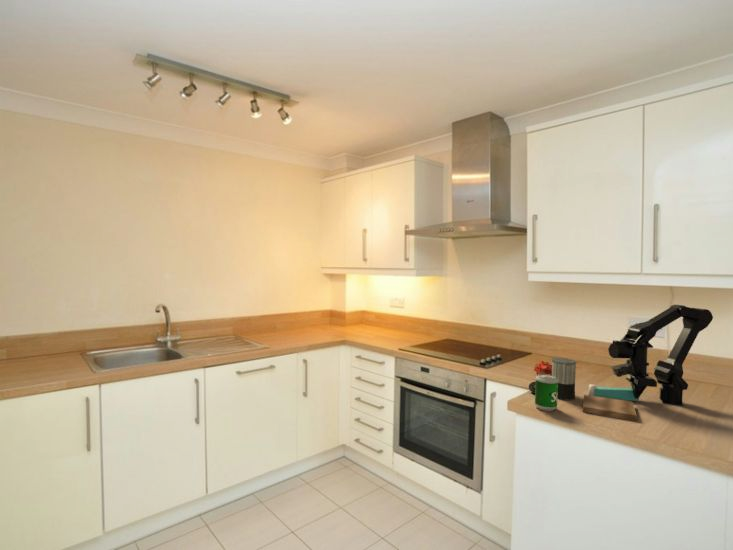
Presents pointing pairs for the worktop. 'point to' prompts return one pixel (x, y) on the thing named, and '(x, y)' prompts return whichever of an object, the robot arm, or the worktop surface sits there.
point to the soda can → (546, 392)
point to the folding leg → (612, 393)
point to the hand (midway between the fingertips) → (636, 398)
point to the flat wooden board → (609, 407)
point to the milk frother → (562, 377)
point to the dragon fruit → (543, 368)
